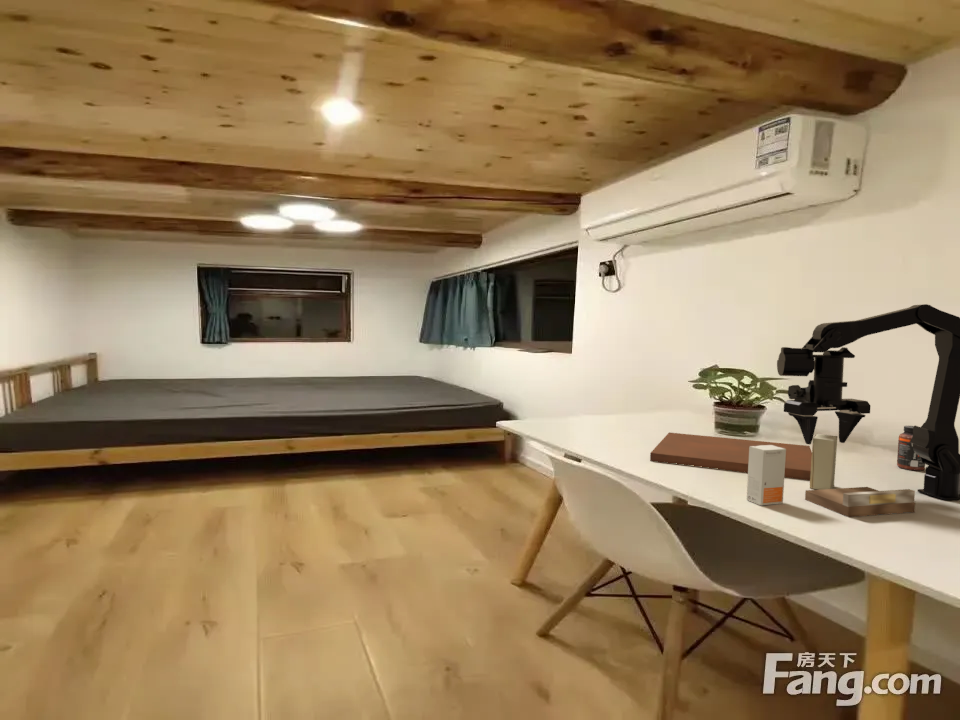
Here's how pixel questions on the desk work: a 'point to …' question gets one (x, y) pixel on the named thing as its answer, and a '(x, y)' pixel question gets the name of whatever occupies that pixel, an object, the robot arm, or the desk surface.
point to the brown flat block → (863, 500)
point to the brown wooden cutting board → (727, 453)
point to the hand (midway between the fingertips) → (825, 443)
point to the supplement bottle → (908, 452)
